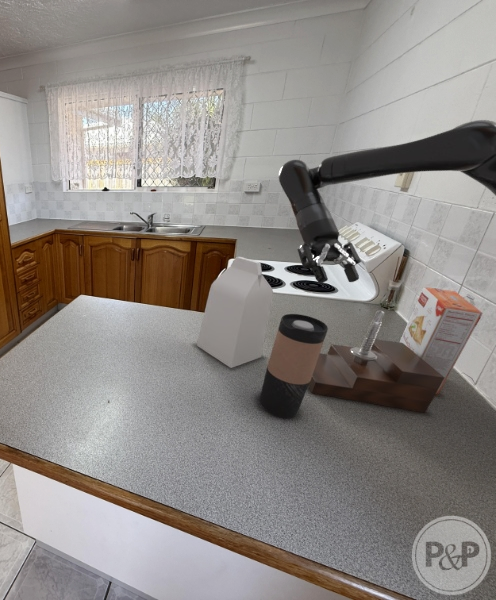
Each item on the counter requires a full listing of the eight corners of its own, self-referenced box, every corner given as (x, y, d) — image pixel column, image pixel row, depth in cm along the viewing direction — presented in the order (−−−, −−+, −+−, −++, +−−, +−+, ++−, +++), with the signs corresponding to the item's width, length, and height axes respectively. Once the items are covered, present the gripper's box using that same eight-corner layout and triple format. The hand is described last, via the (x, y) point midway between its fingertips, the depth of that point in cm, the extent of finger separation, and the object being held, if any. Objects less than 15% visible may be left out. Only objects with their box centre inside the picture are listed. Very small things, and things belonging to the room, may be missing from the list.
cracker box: (389, 358, 84) (422, 285, 76) (419, 365, 81) (457, 290, 73) (403, 386, 73) (444, 305, 65) (439, 396, 70) (486, 312, 62)
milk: (196, 345, 88) (211, 256, 78) (225, 336, 93) (243, 251, 83) (231, 368, 78) (253, 269, 68) (261, 357, 83) (286, 263, 73)
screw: (378, 368, 69) (355, 366, 70) (364, 356, 74) (342, 354, 74) (402, 315, 64) (376, 314, 65) (385, 306, 68) (361, 304, 69)
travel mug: (298, 402, 67) (327, 319, 59) (298, 424, 61) (330, 336, 53) (259, 389, 71) (281, 310, 63) (256, 410, 65) (280, 325, 57)
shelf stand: (311, 393, 70) (324, 359, 67) (293, 359, 83) (303, 329, 79) (425, 412, 65) (445, 377, 61) (387, 373, 77) (402, 342, 74)
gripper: (302, 217, 78) (325, 275, 72) (352, 216, 79) (378, 273, 74) (282, 234, 84) (301, 288, 78) (328, 233, 86) (351, 286, 80)
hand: (339, 281), depth 76 cm, fingers open, 8 cm apart
